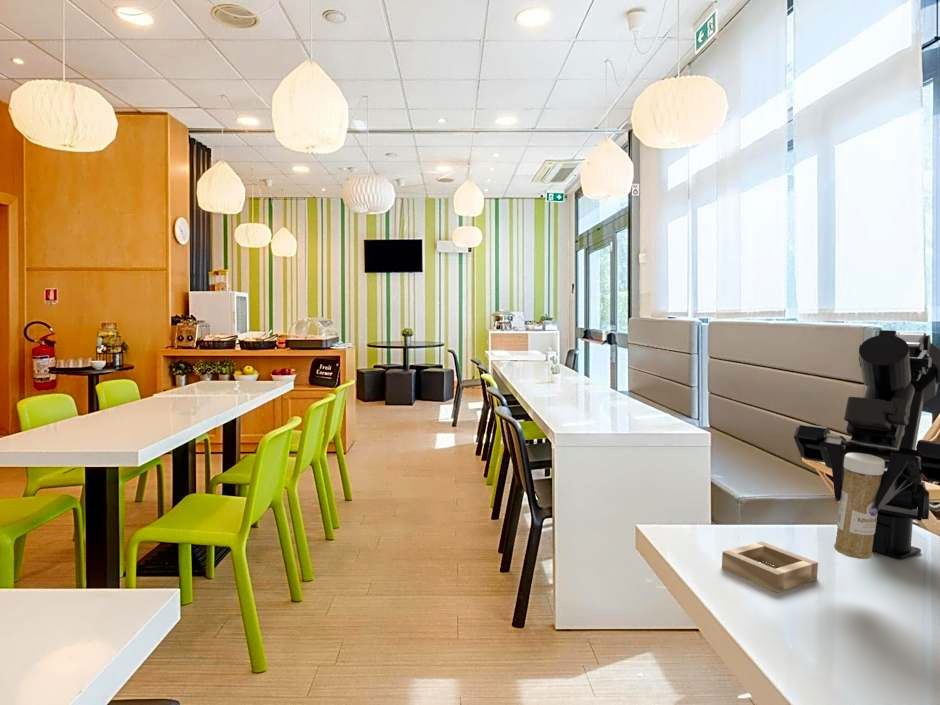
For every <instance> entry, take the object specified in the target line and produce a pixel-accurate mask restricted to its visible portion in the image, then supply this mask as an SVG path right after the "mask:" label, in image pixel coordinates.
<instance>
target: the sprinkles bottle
mask: <svg viewBox="0 0 940 705" xmlns="http://www.w3.org/2000/svg"><path fill="white" fill-rule="evenodd" d="M843 466H844V468H845V469H844V478H843V486H842V490H841V498H840V501H839V507H838V515H837V524H836V527H837V528H836V529H837V530H836V537H835V543H834V544H833V548H834V550H836V551H837V552H838V553H839V554H841V555H844V557H845V556H846V557H848V558H852V559H859V560H867V559H871V558H872V557H873V550H872V546H873V538H874V533H875V528H876V520H877V511H878V510H876V508H875V502H876V497H877V494H878V491H879V489H880V484H881V477H882V474H883V473H884V467H885V461H884V460H883V459H882V458H879V457H877V456H873V455H869V454H863V453H847V454H846V455H845V459H844V465H843Z"/></svg>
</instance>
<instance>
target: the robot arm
mask: <svg viewBox="0 0 940 705" xmlns="http://www.w3.org/2000/svg"><path fill="white" fill-rule="evenodd" d="M858 360H859V366H860V368H861V369H860V370H861V376H862V381H863V384H864V386H866V389H865V392H864V395H863V397H860V396H848V397H847V400H846V406H845V411H844V416H843V417H844V418H843V420H844V422H845V421H846V422H847V425H846V428H845V429H846V433H847V435H851V436H850V439H848V438H845V437H844V436H843V435H839V434H832V433H831V431H830V428H829V427H828V426H822V425H814V424H813V425H812V424H808V423H806V424H805V423H802V424H800V425H799V426H797V427H796V429H795V432H794V435H793V439H794V442H795V444H796V447H797V450H798V452H799V455H800V457H801V458H803V459H804V460H807V461H811V462H812V461H813V462H819V463H824V465H825V466H826V467H827V469H828V468H829V469H831V471H832V472H831V473H832V474H831V475H832V482H833V494H834V499H835V501H836V502H839V503H840V498H841V490H842V486H843V478H844V469H845V468H844V466H843V465H844V459H845V455H846V454H847V453H863V454H869V455H873V456H877V457H879V458H882V459H883V460H884V461H885V467H884V473H883V474H882V477H881V484H880V489H879V491H878V494H877V497H876V502H875V508H876V510H878V511H877V520H876V528H875V533H874V538H873V546H872V551H874V552H877V553H880V554H883V555H886V556H889V557H892V558H895V559H898V560H900V559H902V560H903V559H905V558H907V557H911V556H914V555H918V554H920V553H922V549H921V548H920V547H916V546H913V545H912V538H913V523H914V522H913V520H917V521H919V522H922V521H923V520H929V519H930V491H929V490H928V489H927V487H926V483H925V481H923V479H922V478H924V479H925V480H926V481H929V482H934V483H940V441H933V440H926V439H919V440H918V435H919V430H920V429H919V428H920V423H921V418H922V417H921V416H922V412H923V408H924V404H925V403H927V402H928V401H930V400H931V399H933V398H934V397H936V395H937V391H938V385H940V349H939V348H938V347H937V346H935V345H934V344H933V343H932V342H931V334H928V333H926V332H916V331H915V332H914V331H908V332H907V331H899V332H898V333H897V330H895V329H894V330H891V329H880V330H879V333H878V335H874V336H871V337H869V338H868V339H865V341H863V342H862V343H861V344H860V345H859V347H858ZM917 440H918V441H917Z"/></svg>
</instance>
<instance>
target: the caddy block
mask: <svg viewBox="0 0 940 705" xmlns="http://www.w3.org/2000/svg"><path fill="white" fill-rule="evenodd" d="M721 554H722V555H721V569H723V568H724V569H723V570H725V569H726V570H725V571H727V570H728V572H730V573H732V574H734V573H735V574H734V575H736V574H737V576H739V577H741V578H743V577H744V578H743V579H745V578H746V579H745V580H748V581H749V582H753V583H754V584H757V585H760V586H761V587H764V588H766V589H768V590H771V591H773V592H774V593H779V592H782V591H786V590H788V589H792V588H795V587H797V586H798V587H799V586H801V585H805V584H808V583H810V582H813V581H816V580H818V571H819V562H818V561H815V560H813V559H810V558H807V557H804V556H802V555H799V554H797V553H794V552H792V551H789V550H785V549H783V548H781V547H778V546H775V545H772V544H770V543H768V542H765V541H759V542H755V543H750V544H746V545H742V546H739V547H735V548H732V549H727V550H725V551H722V553H721ZM762 561H764V562H762ZM759 562H762V563H759ZM765 562H767V563H769V564H768V565H766V564H767V563H766V564H765ZM770 564H771V565H770ZM772 565H774V566H776V567H775V568H773V567H774V566H772ZM771 566H772V567H771ZM777 567H778V568H777Z"/></svg>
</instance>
